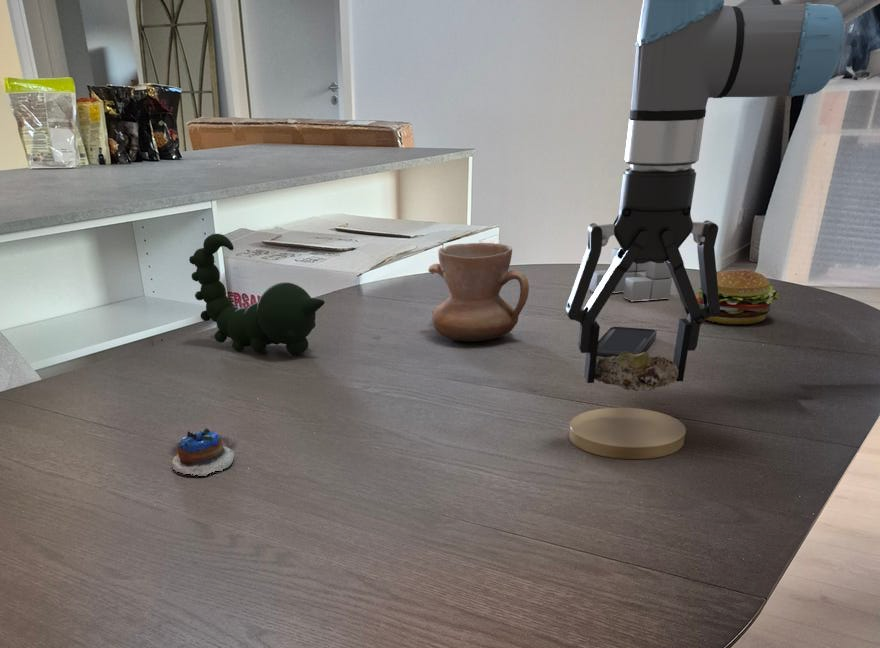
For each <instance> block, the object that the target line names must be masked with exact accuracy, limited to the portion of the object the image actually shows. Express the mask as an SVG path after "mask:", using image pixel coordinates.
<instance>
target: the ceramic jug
mask: <svg viewBox="0 0 880 648" xmlns="http://www.w3.org/2000/svg"><path fill="white" fill-rule="evenodd" d="M437 251H438V252H437V253H438V254H437V255H438V263H433V264H431V265H430V266H428V269H427V270H428V272H429V273H431V274H432V275H433V274H438V276H440V277H442V278H443V279H444V282H445V285H446V287H447V289H448V293H449V296H448V297H447V299H445V300H444V301H442V302H441V303H440V304H439V305H438V306H436V308H435V309H433V310H432V311H431V314H432V315H431V323H432V326H433V328H434V330H435V331H436V333H438V334H440V335H441V336H443V337H445V338H446V339H447V338H448V339H451V340H453V341H458V342H468V343H469V342H470V343H473V342H474V343H475V342H484V341H490V340H495V339H498V338H501V337H503V336H505V335H507V334H509V333H510V332H511V331H513V330H514V328H515V327H516V325H517V324H518V321H519V316H520V314H521V312H522V310H524V307H525V305H526V303H527V300H528V297H529V292H530V284H529V280H528V277H527V275H526V274H524V272H522V271H520V270H518V269H517V270H516V269H513V270H510V265H511V262H512V257H513V256H512V255H513V248H512V246H511V245H507V244H502V243H494V242H469V243H455V244H448V245H446V246H445V247H440V248H439V249H438V250H437ZM511 280H516V281H518V282H519V286H520V287H519V296H518V301H517V303H516V306H515V307H514V308H513V307H512V306H511V304H509V303H508V302H506V301H505V300H504V299H503V298H502V297H501V296H500V293H501V290H502V288H503V287H504V285H506V284H507V283H508V282H510V281H511Z"/></svg>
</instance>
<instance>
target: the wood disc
mask: <svg viewBox="0 0 880 648" xmlns="http://www.w3.org/2000/svg"><path fill="white" fill-rule="evenodd" d="M686 433H687V428H686V426H685V424H684V423H683V422H682V421H680V419H677V418H675V417H673V416H672V415H668V414H666V413H663V412H659V411H654V410H651V409H646V408H645V409H644V408H635V407H606V408H597V409H592V410H589V411H588V410H587V411H585V412H581V413H580V414H577V415H575V416H574V417H573V418H572V419H571V420H570V423H569V431H568V438H569V440H570V443H572V444H573V445H574V446H575V447H577V448H579V449H580V450H583V451H585V452H588V453H590V454H593V455H597V456H601V457H605V458H612V459H621V460H649V459H657V458H661V457H667V456H670V455H673V454H674V453H676V452H678V451H680V450H681V449H682V448H683V447H684V444H685V439H686Z"/></svg>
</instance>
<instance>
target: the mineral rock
mask: <svg viewBox="0 0 880 648" xmlns="http://www.w3.org/2000/svg"><path fill="white" fill-rule="evenodd" d="M678 372H679V370H678V369H677V366H676V365H674V363H673V359H670V358H669V359H667V358H665V357H661V356H649V352H647V351H646V352H642V353H638V354H633V353H629V352H623V353H621V354H620V355H619V356H618V357H616V356H612V357H601V356H597V359H596V368H595V378H594V381H595V380H596V381H597V382H599V383H601V382H602V383H603V384H606V385H613V386H617V387H621V388H622V389H623V390H627V391H635V392H638V391H642V392H643V391H644V392H651V391H653V390H655V389H656V388H662V387H666V386H667V387H668V386H670V385H671V384H674V383H675V382H676V379H677V378H678Z"/></svg>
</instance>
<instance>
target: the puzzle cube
mask: <svg viewBox="0 0 880 648" xmlns="http://www.w3.org/2000/svg"><path fill="white" fill-rule="evenodd" d="M619 249H620V247H613V248H612V249H611V255H610V256H611V257H610V266H611V264H612V262H613V259H614V257H615V255H616V254H617V252H618V251H619ZM610 266H609V267H610ZM607 270H608V269H604V270H603V269H602V270H595V271H594V274H593V277H592V280H591V282H590V285H589V288H588V290H589V289H591V290H592V291H595V290H596V288H597V286H598V285H599V283H600V282H601V280H602V278H603V277H604V275H605V274H606V272H607ZM672 283H673V278H672V275H671V273H670V270H669V268H668V266H667V264H666V262H664V263H654V262H651V261H650V262H646V263H643V264H636V263H635V262H633V263H632V265H631V266H630V268H629V269H628V271H626V272H625V273H624V275H623V277H622V278H621V280H620V281H619V283H618V285H617V286H616V288H615V289H614V291H615V292H617V291H618V292H619V291H624V293H623V298H624V297H626V298H628V299H629V300H642V299H660V298H669V299H670V297H671V290H672ZM614 291H613V292H614Z"/></svg>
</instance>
